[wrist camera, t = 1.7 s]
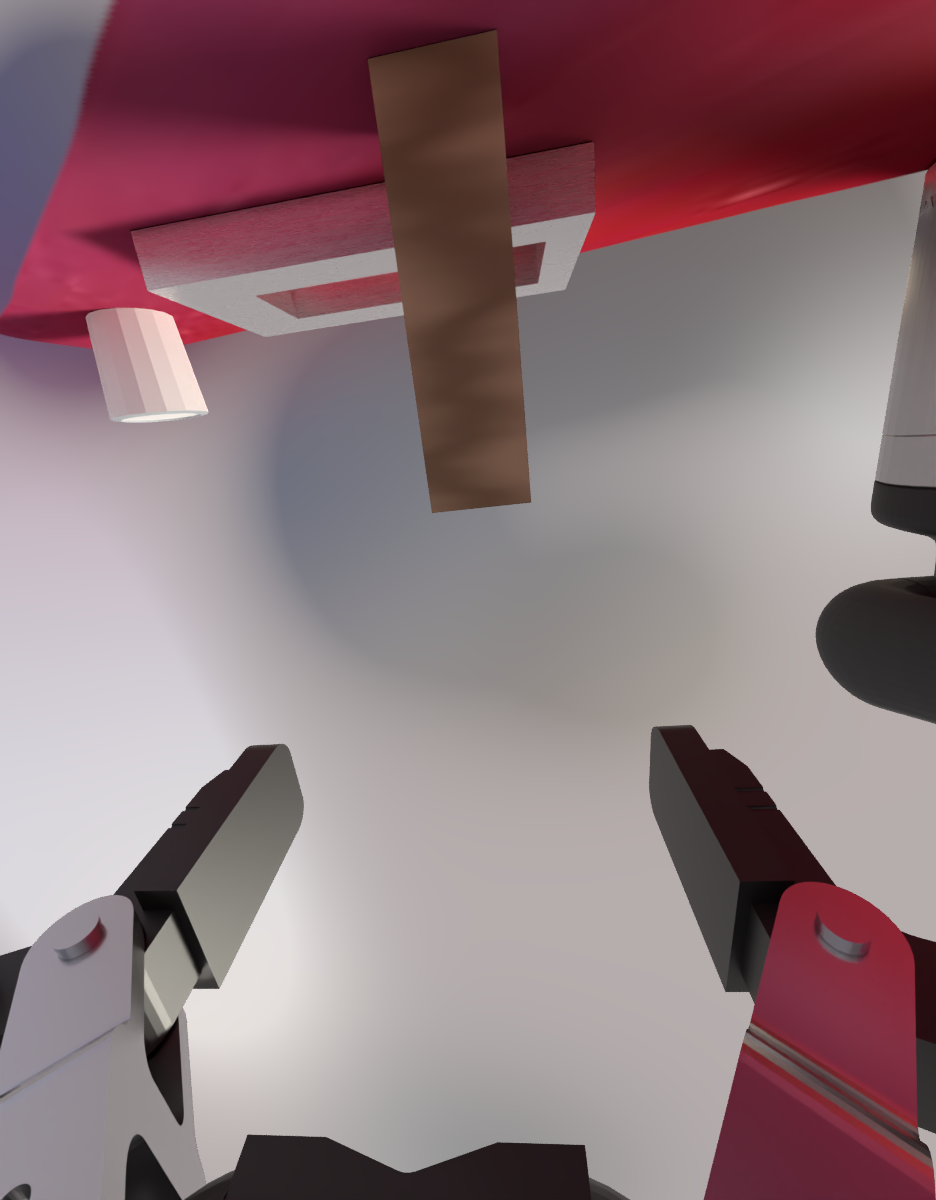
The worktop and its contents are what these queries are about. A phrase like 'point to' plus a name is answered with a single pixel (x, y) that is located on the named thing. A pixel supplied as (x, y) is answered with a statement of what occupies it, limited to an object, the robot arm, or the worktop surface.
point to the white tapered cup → (143, 366)
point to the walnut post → (456, 265)
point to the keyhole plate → (353, 250)
